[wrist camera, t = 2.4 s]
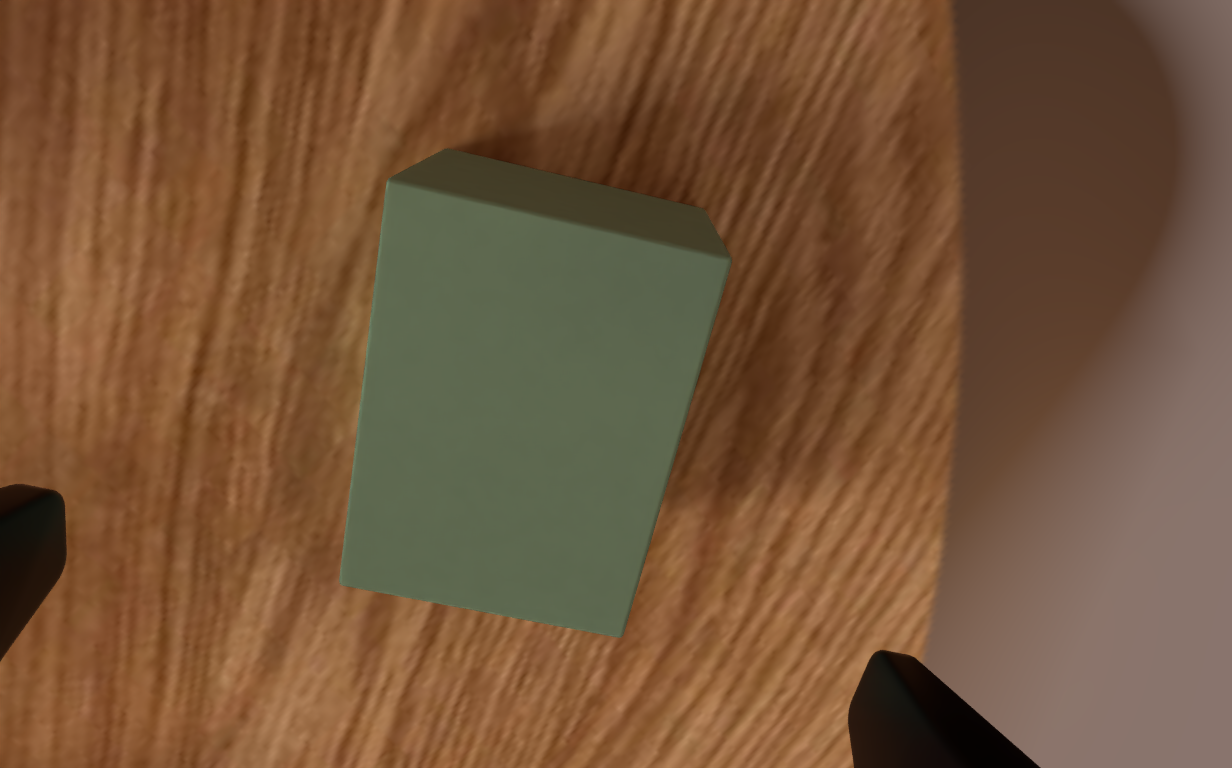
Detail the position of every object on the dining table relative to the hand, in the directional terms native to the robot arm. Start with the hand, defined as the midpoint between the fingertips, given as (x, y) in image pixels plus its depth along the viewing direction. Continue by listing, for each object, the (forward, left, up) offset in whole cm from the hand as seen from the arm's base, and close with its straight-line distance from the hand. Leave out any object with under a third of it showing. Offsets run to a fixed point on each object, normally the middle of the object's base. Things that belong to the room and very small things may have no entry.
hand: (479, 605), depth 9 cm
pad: (0, 0, -8) cm, 8 cm away
